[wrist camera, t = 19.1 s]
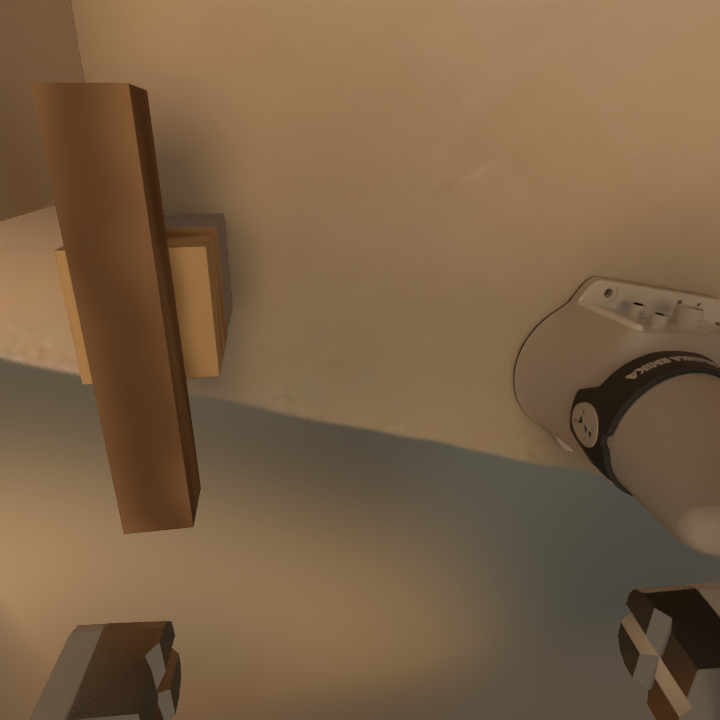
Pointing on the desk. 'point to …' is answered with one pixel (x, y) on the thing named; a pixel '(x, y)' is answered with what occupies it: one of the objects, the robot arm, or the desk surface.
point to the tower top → (177, 301)
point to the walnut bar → (123, 293)
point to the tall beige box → (30, 95)
